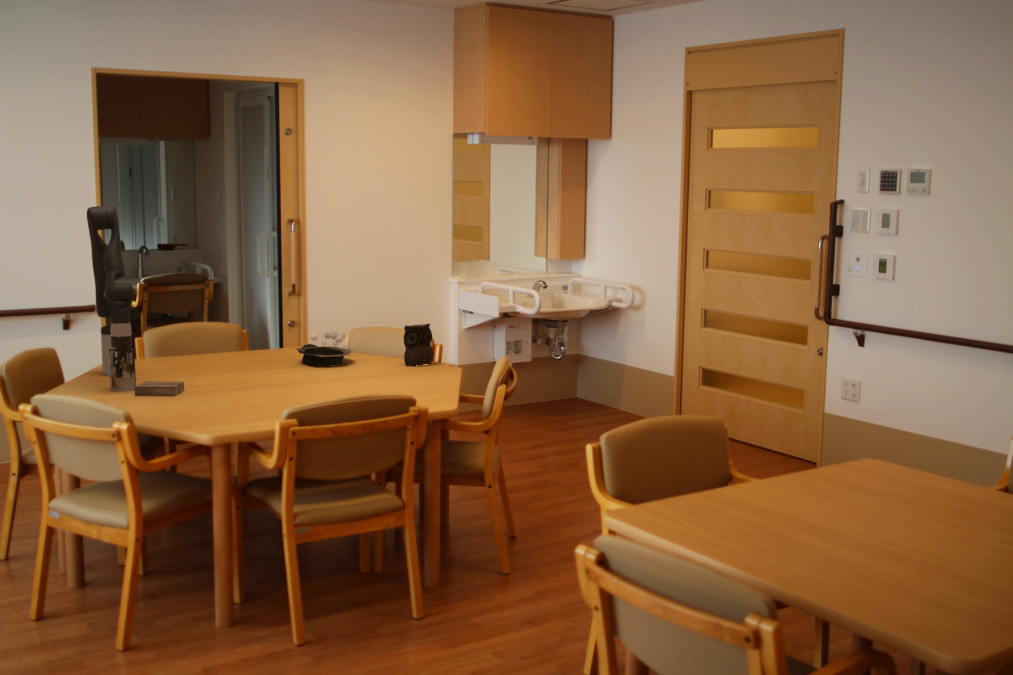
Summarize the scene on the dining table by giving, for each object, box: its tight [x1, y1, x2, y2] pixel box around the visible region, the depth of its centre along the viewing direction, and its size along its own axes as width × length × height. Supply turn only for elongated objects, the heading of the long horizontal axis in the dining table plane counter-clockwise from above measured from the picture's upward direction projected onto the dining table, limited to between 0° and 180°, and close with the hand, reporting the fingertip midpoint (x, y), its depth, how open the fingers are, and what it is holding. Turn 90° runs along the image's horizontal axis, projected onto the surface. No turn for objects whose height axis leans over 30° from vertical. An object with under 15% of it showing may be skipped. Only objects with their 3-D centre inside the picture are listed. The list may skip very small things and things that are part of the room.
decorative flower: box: [310, 330, 348, 359], centre depth 472 cm, size 25×22×14 cm
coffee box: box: [108, 347, 137, 392], centre depth 382 cm, size 9×6×16 cm
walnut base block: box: [134, 380, 185, 397], centre depth 377 cm, size 12×15×4 cm
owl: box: [403, 323, 435, 367], centre depth 448 cm, size 13×13×20 cm
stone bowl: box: [296, 343, 352, 367], centre depth 448 cm, size 25×25×9 cm
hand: (122, 375), depth 382 cm, fingers closed on coffee box, 8 cm apart
